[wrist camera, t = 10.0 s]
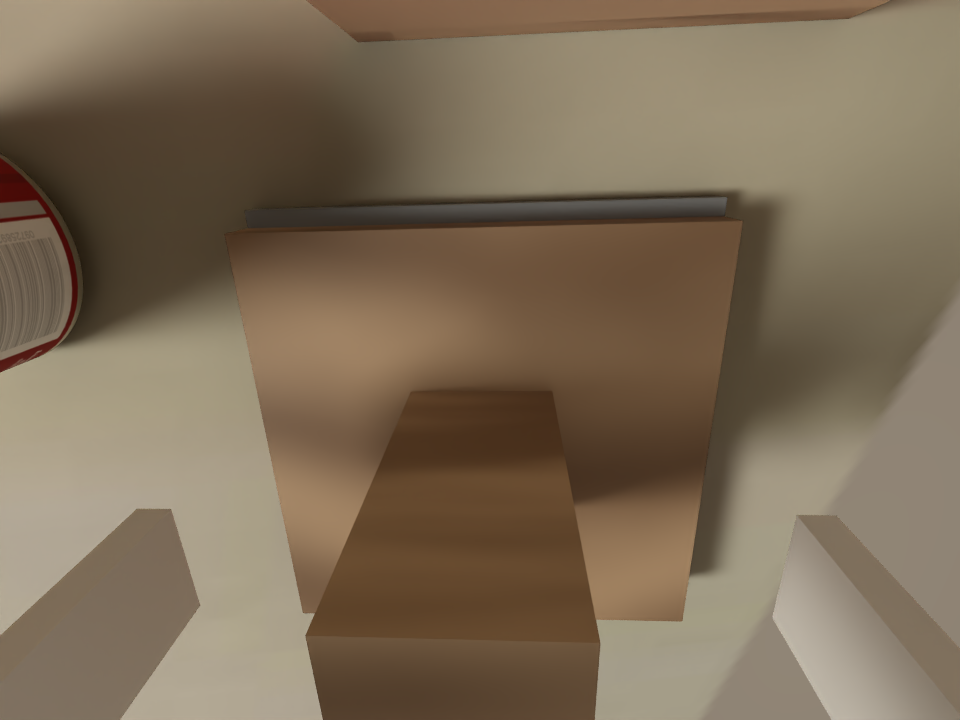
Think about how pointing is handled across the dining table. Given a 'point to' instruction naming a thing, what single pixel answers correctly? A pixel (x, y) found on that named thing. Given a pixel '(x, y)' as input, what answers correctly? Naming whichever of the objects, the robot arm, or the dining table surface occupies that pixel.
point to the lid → (484, 446)
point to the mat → (488, 212)
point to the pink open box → (563, 15)
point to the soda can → (34, 270)
